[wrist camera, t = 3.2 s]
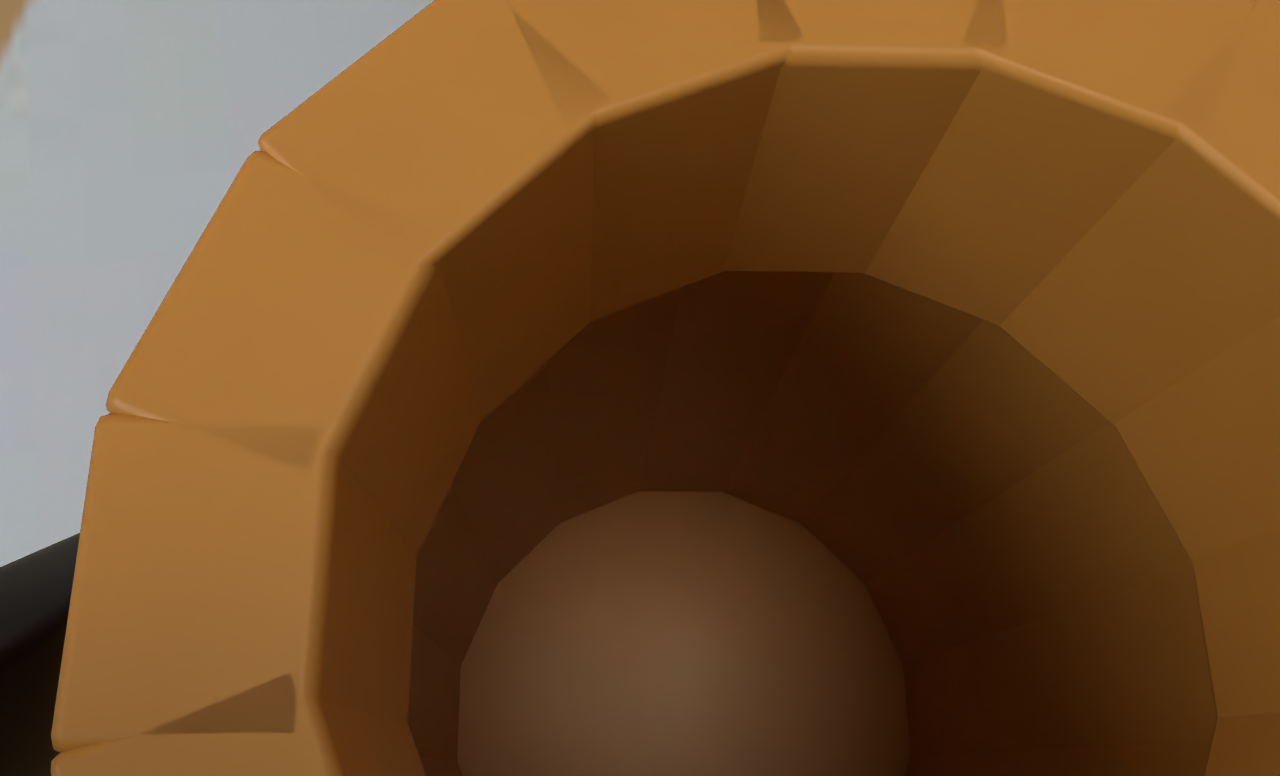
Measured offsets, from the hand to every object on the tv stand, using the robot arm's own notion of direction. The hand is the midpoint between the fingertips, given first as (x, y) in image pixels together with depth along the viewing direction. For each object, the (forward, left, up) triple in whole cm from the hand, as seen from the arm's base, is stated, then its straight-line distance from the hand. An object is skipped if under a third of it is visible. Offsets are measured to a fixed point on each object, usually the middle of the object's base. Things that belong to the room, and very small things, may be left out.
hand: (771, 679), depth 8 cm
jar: (0, 0, -8) cm, 8 cm away
